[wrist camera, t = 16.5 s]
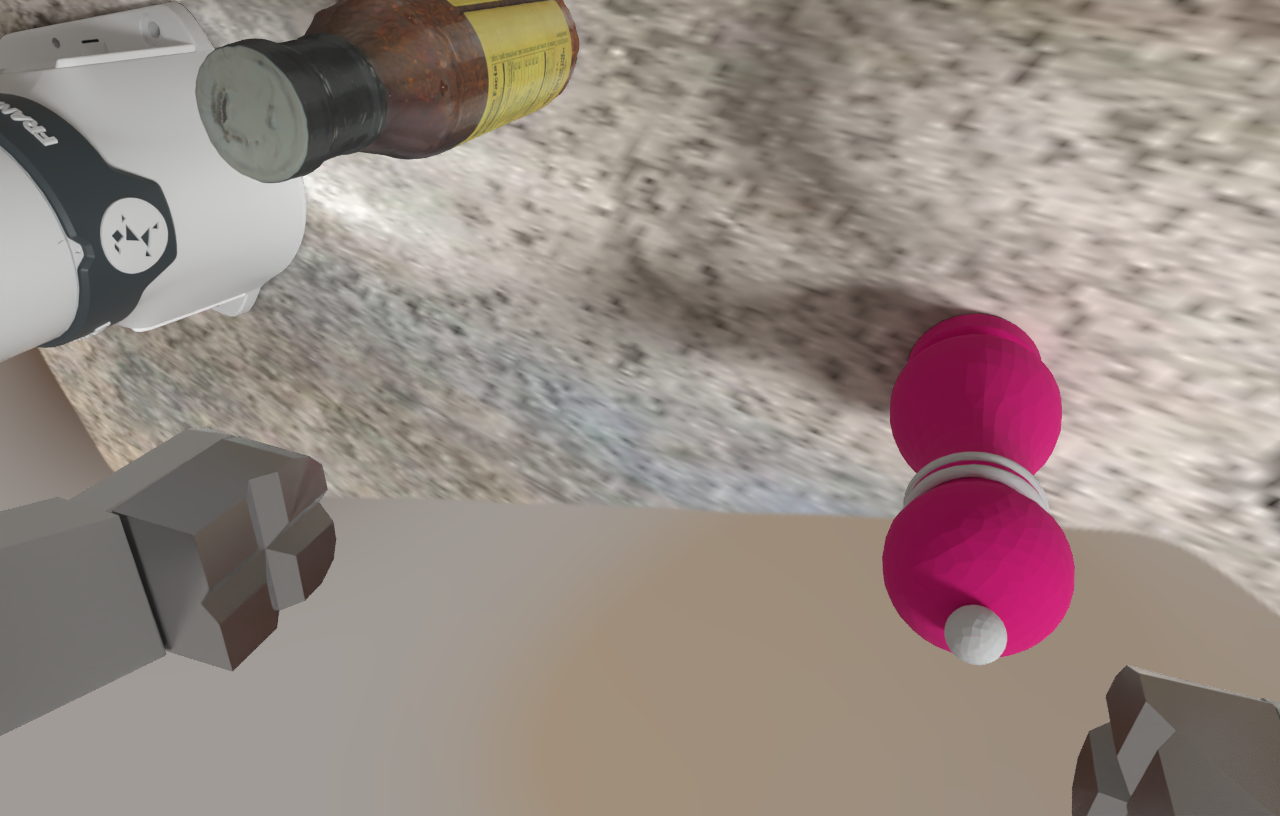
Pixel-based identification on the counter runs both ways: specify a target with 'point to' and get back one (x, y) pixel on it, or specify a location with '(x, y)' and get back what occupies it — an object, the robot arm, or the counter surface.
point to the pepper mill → (977, 492)
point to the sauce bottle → (383, 81)
